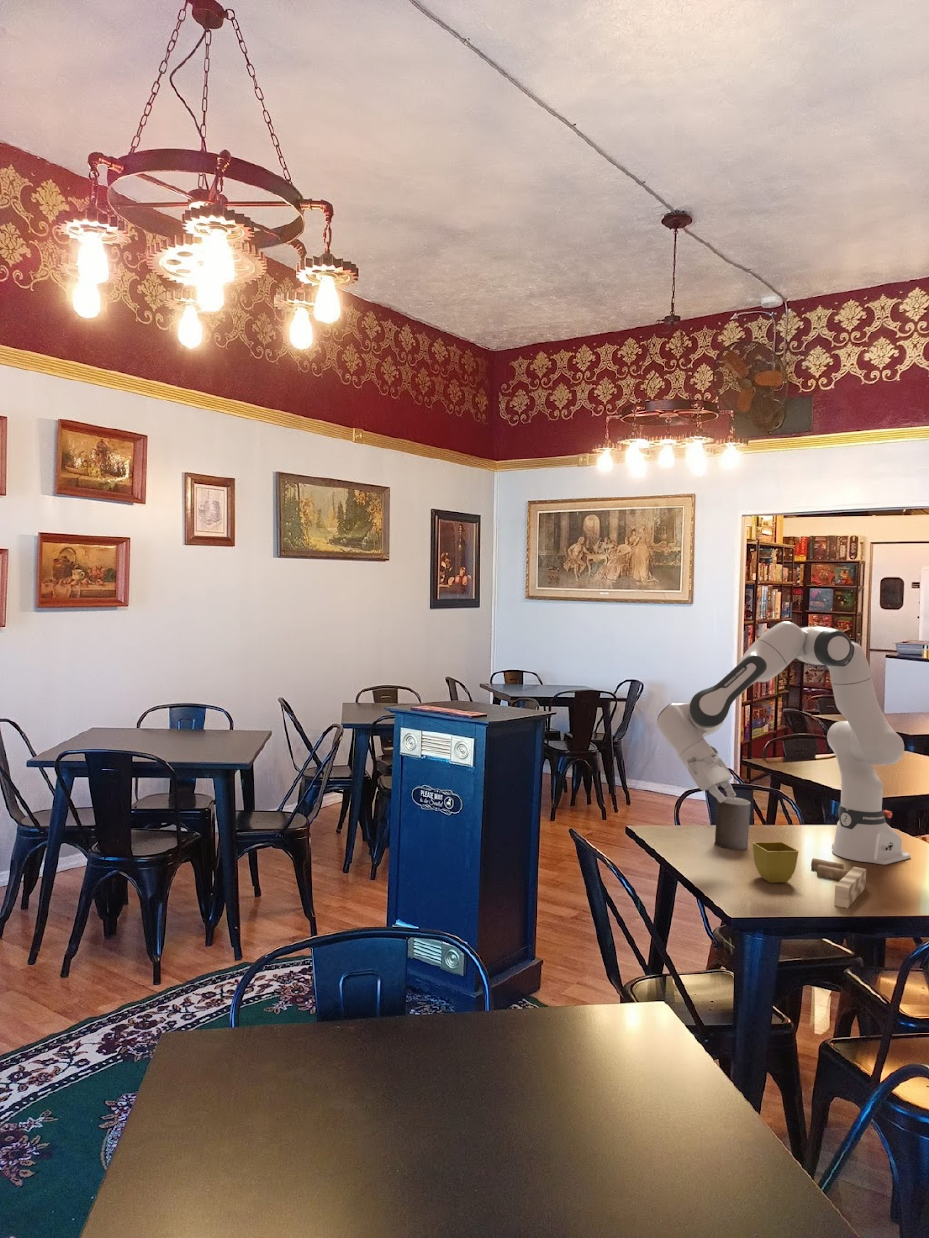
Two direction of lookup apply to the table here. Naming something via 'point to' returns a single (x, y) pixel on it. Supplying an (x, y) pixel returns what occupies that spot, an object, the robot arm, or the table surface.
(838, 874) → the roller
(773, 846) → the flower pot
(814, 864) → the roller
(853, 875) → the rail
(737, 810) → the pillar candle
